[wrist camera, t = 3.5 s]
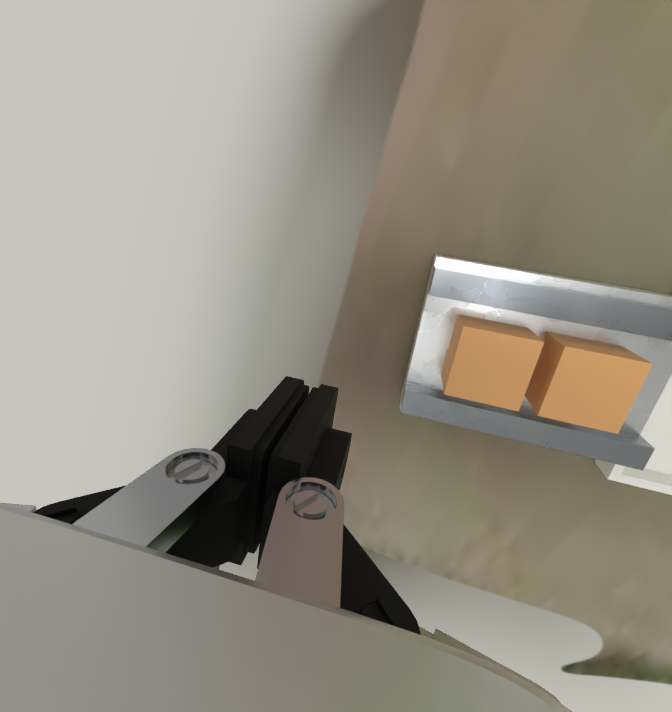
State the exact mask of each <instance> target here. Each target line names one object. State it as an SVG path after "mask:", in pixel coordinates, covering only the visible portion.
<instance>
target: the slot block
mask: <svg viewBox="0 0 672 712" xmlns="http://www.w3.org/2000/svg"><path fill="white" fill-rule="evenodd" d="M458 314H461V315H466V316H471V317H476V318H481V319H486V320H492V321H497V322H502V323H507V324H512V325H517V326H522V327H527V328H529V329H530V330H531V331H532V332H534V333H535V334H536V335H537V336H538V337H539V338H540V339H542V340H543V338H544V335H545V333H546V331H548V332H553V333H558V334H563V335H569V336H574V337H579V338H584V339H589V340H594V341H599V342H604V343H610V344H615V345H620V346H622V347H624V348H626V349H628V350H630V351H631V352H633V353H635V354H637V355H638V356H640V357H642V358H644V359H646V360H647V361H649V362H651V363H653V365H652V367H651V369H650V371H649V373H648V375H647V377H646V379H645V381H644V383H643V385H642V387H641V389H640V391H639V393H638V395H637V397H636V399H635V401H634V403H633V405H632V407H631V409H630V411H629V413H628V415H627V417H626V419H625V421H624V423H623V425H622V427H621V429H620V431H619V433H618V434H616V433H611V432H607V431H602V430H598V429H594V428H589V427H585V426H580V425H576V424H572V423H567V422H563V421H559V420H554V419H550V418H545V417H541V416H538V415H537V414H536V412H535V411H534V409H533V408H532V406H531V405H530V403H529V402H528V400H527V398H526V397H525V395H524V398H523V401H522V403H521V406H520V409H519V411H515V410H510V409H506V408H502V407H497V406H493V405H488V404H484V403H480V402H475V401H471V400H466V399H462V398H458V397H453V396H449V395H445V394H444V391H443V385H442V378H441V373H442V369H443V366H444V362H445V359H446V355H447V352H448V348H449V344H450V341H451V337H452V334H453V330H454V326H455V323H456V319H457V316H458ZM671 375H672V295H671V294H665V293H659V292H653V291H647V290H642V289H636V288H630V287H624V286H618V285H613V284H607V283H601V282H595V281H589V280H584V279H578V278H572V277H566V276H560V275H555V274H549V273H543V272H537V271H531V270H526V269H520V268H514V267H508V266H502V265H497V264H491V263H485V262H479V261H473V260H468V259H462V258H456V257H450V256H444V255H439V254H434V259H433V263H432V267H431V271H430V275H429V279H428V283H427V288H426V292H425V296H424V300H423V304H422V308H421V312H420V317H419V321H418V325H417V329H416V333H415V337H414V341H413V346H412V350H411V354H410V358H409V362H408V366H407V370H406V374H405V379H404V383H403V387H402V392H401V401H400V413H404V414H409V415H413V416H417V417H421V418H425V419H429V420H434V421H438V422H442V423H446V424H450V425H454V426H459V427H463V428H467V429H471V430H475V431H480V432H484V433H488V434H492V435H496V436H500V437H505V438H509V439H513V440H517V441H521V442H525V443H530V444H534V445H538V446H542V447H546V448H551V449H555V450H559V451H563V452H567V453H571V454H576V455H580V456H584V457H588V458H592V459H596V460H601V461H605V462H609V463H613V464H617V465H622V466H626V467H630V468H634V469H638V470H642V471H643V470H644V468H645V466H646V464H647V462H648V461H649V459H650V457H651V455H652V453H653V451H654V450H655V448H654V447H653V446H652V445H650V444H649V443H648V442H647V441H646V440H645V439H644V438H643V437H642V436H641V435H640V434H641V432H642V430H643V428H644V426H645V424H646V422H647V420H648V418H649V417H650V415H651V413H652V411H653V409H654V407H655V405H656V403H657V401H658V399H659V397H660V396H661V394H662V392H663V390H664V388H665V386H666V384H667V382H668V380H669V378H670V376H671Z"/></svg>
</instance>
